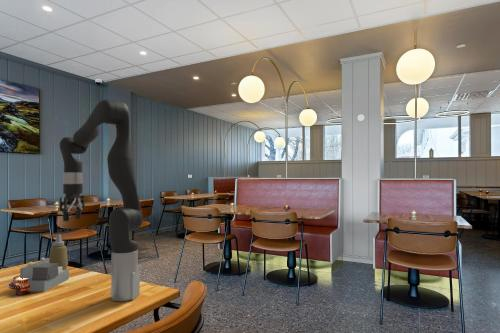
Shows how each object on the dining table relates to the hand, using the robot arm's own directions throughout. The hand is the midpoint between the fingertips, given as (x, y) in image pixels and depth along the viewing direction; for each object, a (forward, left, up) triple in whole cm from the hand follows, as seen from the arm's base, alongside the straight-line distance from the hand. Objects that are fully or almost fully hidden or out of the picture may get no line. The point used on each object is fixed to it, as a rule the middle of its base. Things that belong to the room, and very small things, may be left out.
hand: (72, 219), depth 137 cm
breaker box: (+7, +6, -26) cm, 28 cm away
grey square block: (+5, +10, -22) cm, 25 cm away
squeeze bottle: (+13, -10, -26) cm, 31 cm away
